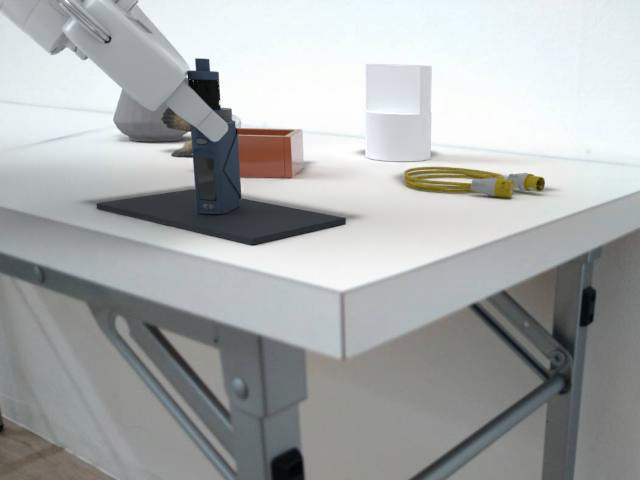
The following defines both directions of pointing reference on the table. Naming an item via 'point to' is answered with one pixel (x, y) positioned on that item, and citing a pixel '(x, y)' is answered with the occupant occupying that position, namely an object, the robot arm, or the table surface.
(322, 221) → the mat
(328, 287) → the table surface
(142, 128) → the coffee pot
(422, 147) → the base with upright slab
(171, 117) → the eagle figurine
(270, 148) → the open box
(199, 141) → the vaping device
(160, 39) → the robot arm
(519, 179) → the extension cord
